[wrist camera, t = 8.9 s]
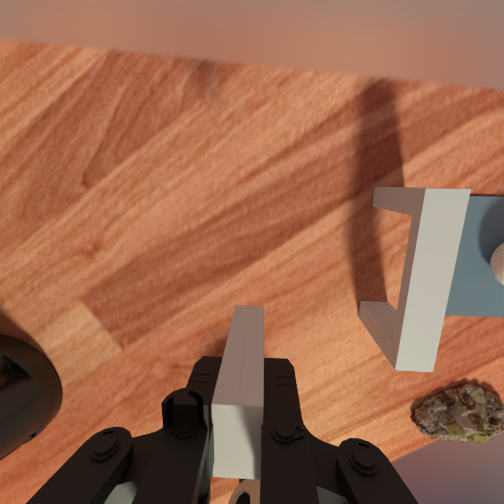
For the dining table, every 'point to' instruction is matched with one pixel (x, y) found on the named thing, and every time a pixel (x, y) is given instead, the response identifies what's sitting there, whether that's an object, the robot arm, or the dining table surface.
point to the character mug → (246, 492)
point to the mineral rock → (461, 415)
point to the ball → (498, 263)
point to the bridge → (419, 275)
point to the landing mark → (478, 261)
